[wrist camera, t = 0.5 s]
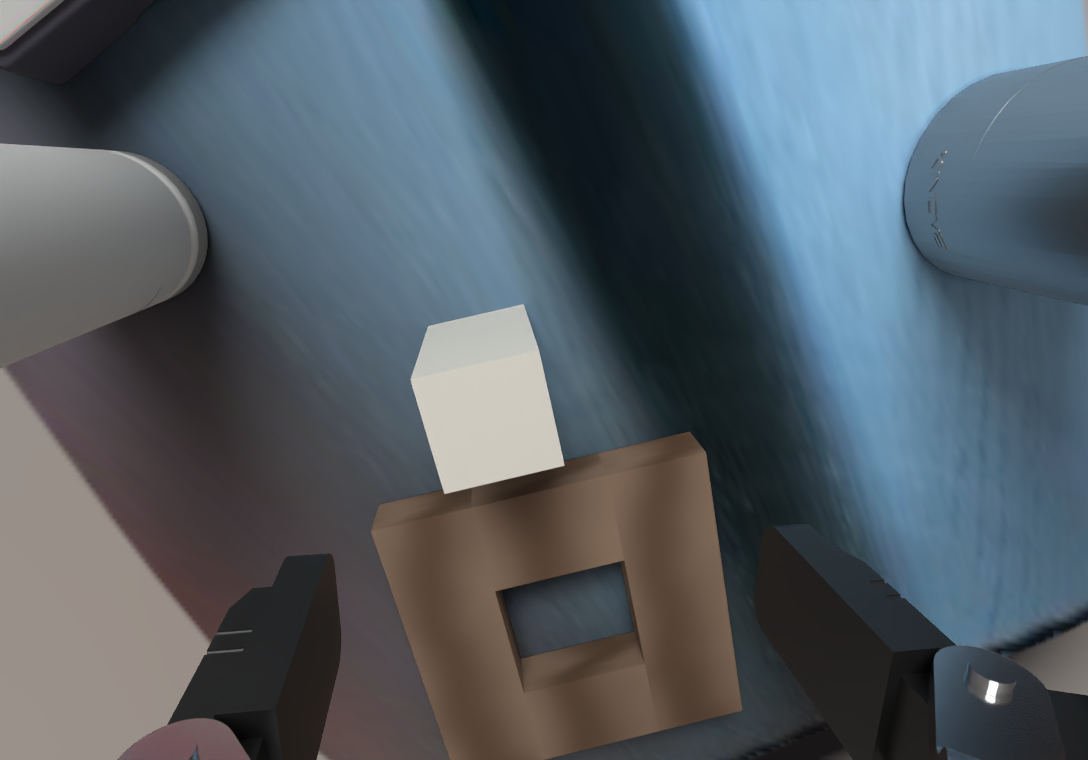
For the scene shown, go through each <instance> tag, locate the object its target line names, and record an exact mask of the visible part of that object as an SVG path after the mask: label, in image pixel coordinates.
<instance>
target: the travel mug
mask: <svg viewBox="0 0 1088 760" xmlns="http://www.w3.org/2000/svg"><path fill="white" fill-rule="evenodd" d="M207 247H208V240H207V228H206V224H205V220H204V216H203V214H202V211H201V209H200V207H199V205H198V203H197V201H196V199H195V198H194V196H193V195H192V193H191V192H190V191H189V189H188V188H187V186H186V185H185V184H184V183H183V182H182V181H181V180H180V179H179V178H178V177H177V176H176V175H175V174H173V173H172V172H171V171H169V170H168V169H167V168H165V167H164V166H162V165H161V164H159V163H157V162H155V161H153V160H151V159H149V158H147V157H144V156H141V155H137V154H134V153H131V152H123V151H114V150H97V149H96V150H94V149H81V148H64V147H47V146H30V145H14V144H0V368H2V367H4V366H7V365H9V364H12V363H14V362H16V361H19V360H21V359H24V358H26V357H29V356H31V355H34V354H36V353H39V352H41V351H43V350H46V349H48V348H51V347H53V346H56V345H58V344H61V343H63V342H65V341H68V340H70V339H73V338H75V337H78V336H80V335H83V334H85V333H88V332H90V331H92V330H95V329H97V328H100V327H102V326H105V325H107V324H110V323H112V322H115V321H117V320H119V319H122V318H124V317H127V316H129V315H132V314H134V313H137V312H139V311H141V310H144V309H146V308H149V307H151V306H153V305H156V304H159V303H161V302H164V301H166V300H168V299H171V298H173V297H174V296H176V295H178V294H180V293H181V292H183V291H184V290H185V289H186V288H188V287H189V286H190V285H191V284H192V283H193V282H194V280H195V279H196V277H197V276H198V274H199V273H200V272H201V269H202V267H203V264H204V261H205V259H206V253H207Z"/></svg>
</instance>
